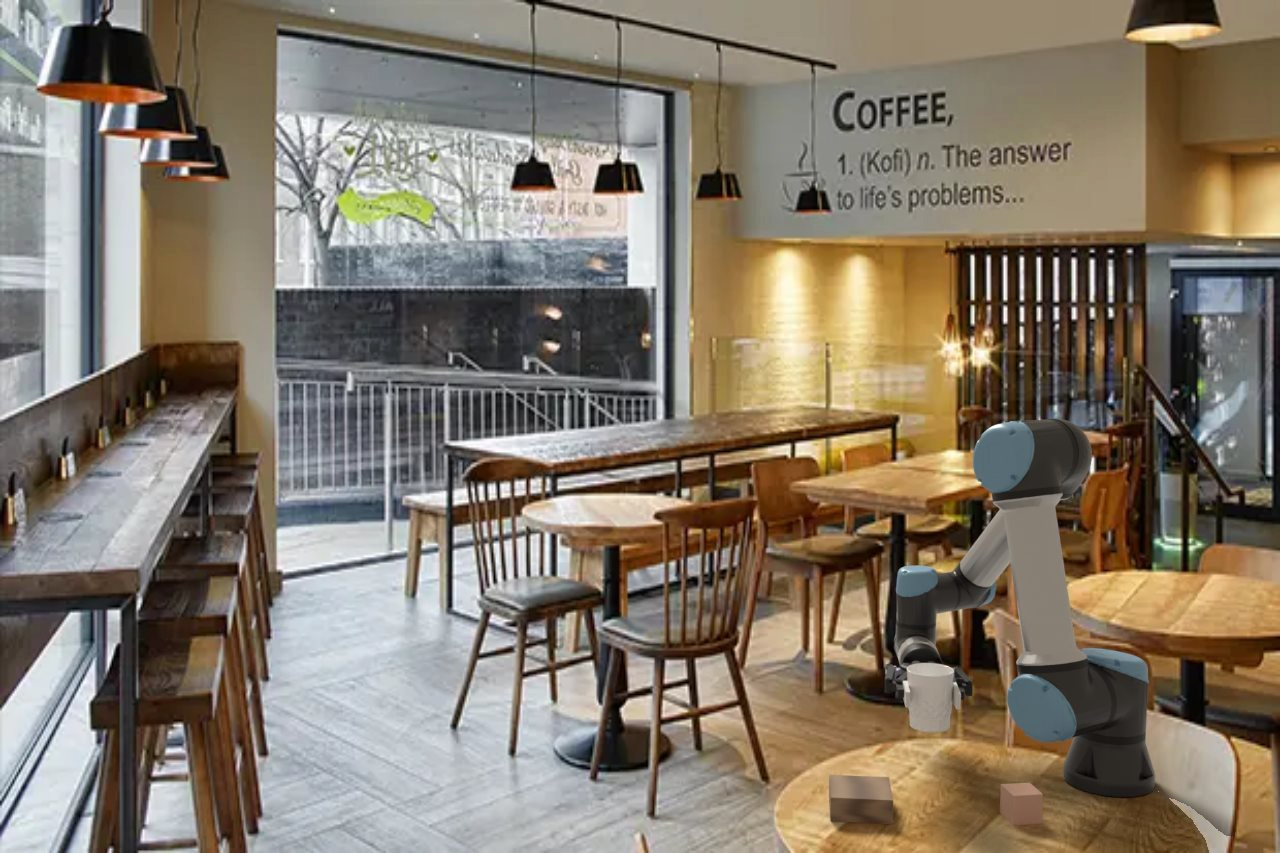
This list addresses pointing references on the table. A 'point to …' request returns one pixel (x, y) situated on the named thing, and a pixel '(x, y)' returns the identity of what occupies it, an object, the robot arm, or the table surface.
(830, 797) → the walnut block
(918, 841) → the table surface
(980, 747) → the table surface
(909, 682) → the white cup
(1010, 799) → the terracotta cube
